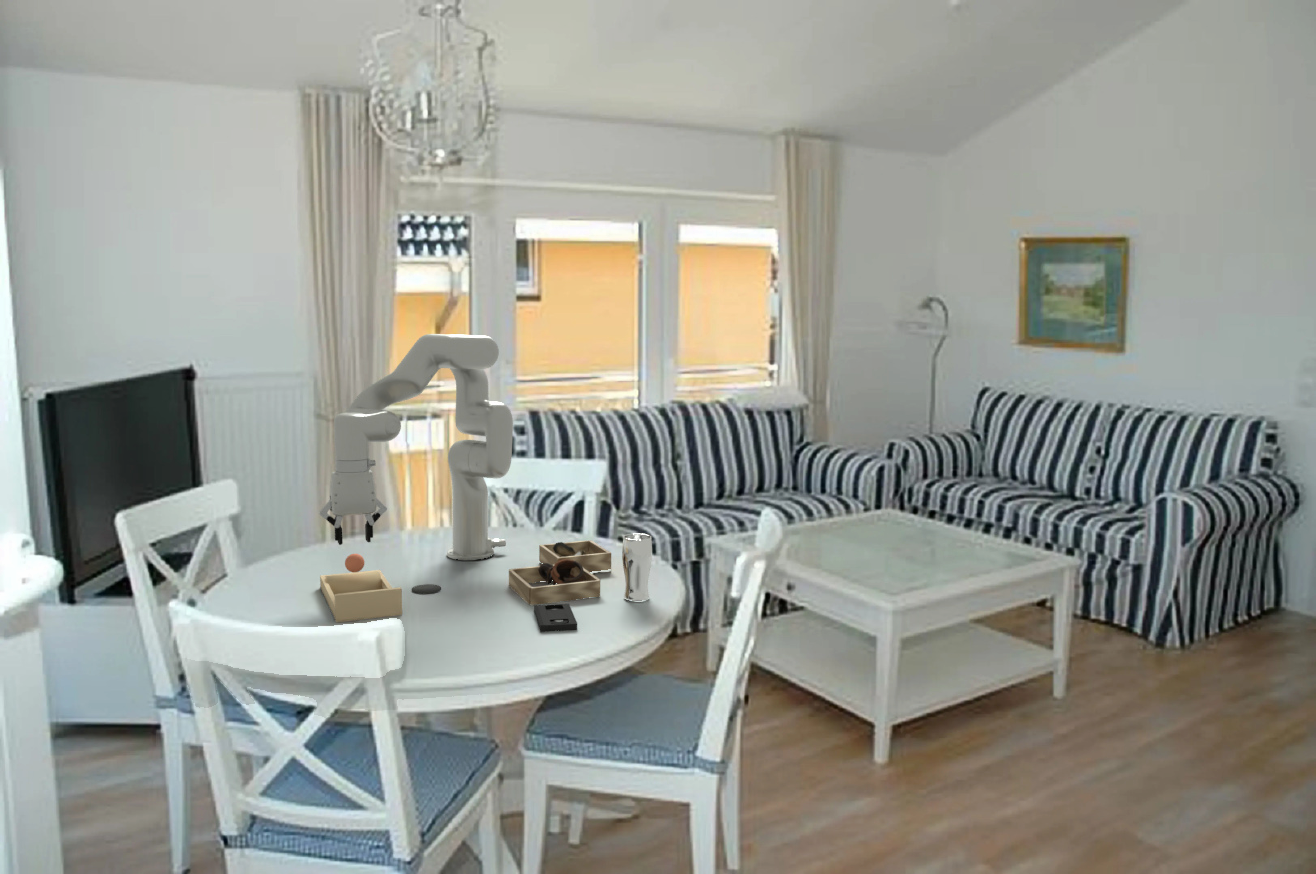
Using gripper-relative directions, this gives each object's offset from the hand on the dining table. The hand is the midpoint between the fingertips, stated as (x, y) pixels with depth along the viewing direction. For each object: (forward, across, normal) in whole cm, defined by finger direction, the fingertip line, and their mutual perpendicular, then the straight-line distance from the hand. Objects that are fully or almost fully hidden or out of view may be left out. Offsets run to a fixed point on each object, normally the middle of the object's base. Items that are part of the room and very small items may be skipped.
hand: (354, 541), depth 234 cm
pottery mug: (+13, -46, +14) cm, 50 cm away
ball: (+5, 0, 0) cm, 5 cm away
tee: (+13, -16, +3) cm, 21 cm away
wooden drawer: (+17, 0, +6) cm, 18 cm away
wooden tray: (+13, -56, -3) cm, 57 cm away
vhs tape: (+13, -37, +36) cm, 54 cm away
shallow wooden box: (+13, -44, +15) cm, 48 cm away
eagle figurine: (+13, -54, -3) cm, 56 cm away
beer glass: (+13, -60, +28) cm, 68 cm away
